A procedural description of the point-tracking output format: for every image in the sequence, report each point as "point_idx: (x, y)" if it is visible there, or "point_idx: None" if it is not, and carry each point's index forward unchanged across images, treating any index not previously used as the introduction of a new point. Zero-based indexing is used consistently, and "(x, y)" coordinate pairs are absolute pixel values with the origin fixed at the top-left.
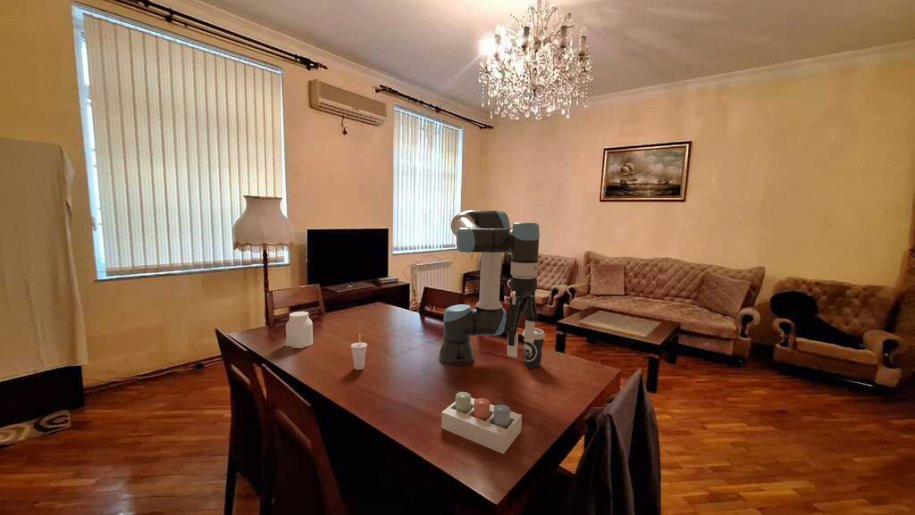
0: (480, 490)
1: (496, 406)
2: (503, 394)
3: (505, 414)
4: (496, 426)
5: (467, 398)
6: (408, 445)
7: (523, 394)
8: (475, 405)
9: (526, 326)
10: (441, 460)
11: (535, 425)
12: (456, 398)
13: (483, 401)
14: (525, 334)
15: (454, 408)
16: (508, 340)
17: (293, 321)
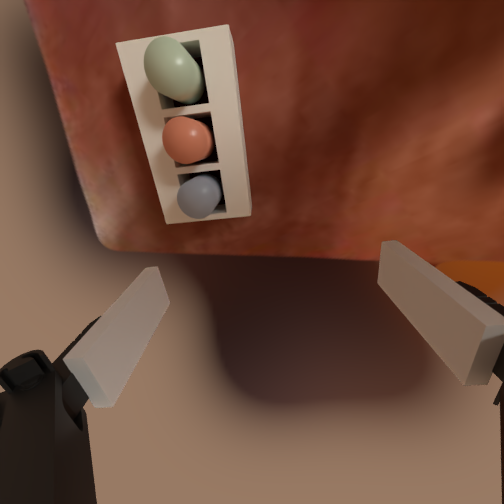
0: (97, 227)
1: (195, 183)
2: (369, 89)
3: (187, 215)
4: None
5: (166, 91)
6: (42, 43)
7: (395, 136)
8: (163, 133)
9: (442, 302)
10: (81, 139)
11: (285, 218)
12: (145, 57)
13: (189, 142)
14: (404, 264)
15: None
16: (77, 339)
17: None
